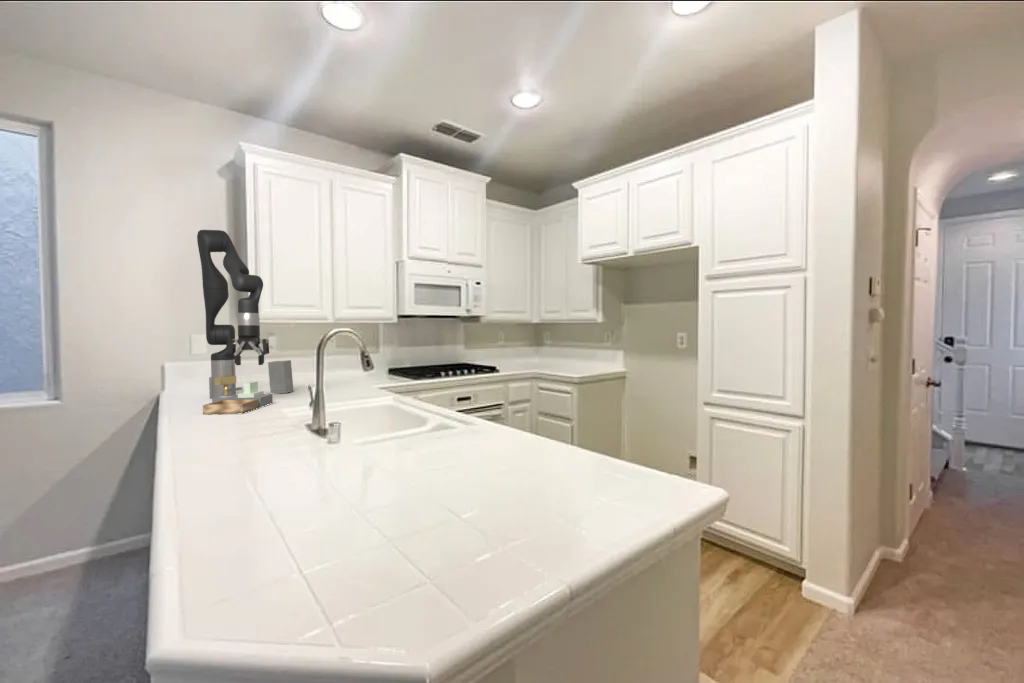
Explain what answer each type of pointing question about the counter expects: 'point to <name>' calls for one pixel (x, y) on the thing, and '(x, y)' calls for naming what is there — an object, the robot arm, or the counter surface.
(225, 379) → the key
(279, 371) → the skincare box
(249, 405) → the tray
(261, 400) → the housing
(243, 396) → the cover
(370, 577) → the counter surface
